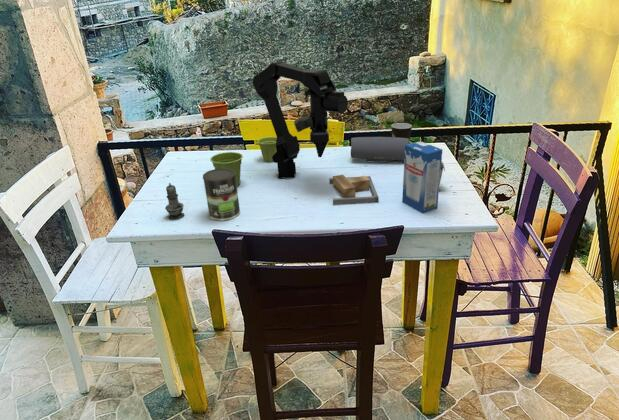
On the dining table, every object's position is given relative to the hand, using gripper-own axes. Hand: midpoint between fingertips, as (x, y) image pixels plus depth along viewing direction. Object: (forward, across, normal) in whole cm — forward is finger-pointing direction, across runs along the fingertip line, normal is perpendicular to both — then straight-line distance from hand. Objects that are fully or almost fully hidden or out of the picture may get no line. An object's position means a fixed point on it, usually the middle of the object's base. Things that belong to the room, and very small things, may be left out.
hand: (319, 152), depth 161 cm
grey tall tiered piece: (+13, +21, -48) cm, 54 cm away
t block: (+12, +6, +12) cm, 18 cm away
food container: (+12, +5, +38) cm, 40 cm away
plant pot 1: (+14, -3, -34) cm, 37 cm away
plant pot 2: (+14, -28, -21) cm, 38 cm away
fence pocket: (+12, +7, +11) cm, 18 cm away
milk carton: (+12, +20, +32) cm, 40 cm away
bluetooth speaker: (+13, -22, +24) cm, 35 cm away
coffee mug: (+13, -38, +36) cm, 54 cm away
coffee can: (+13, +20, -32) cm, 40 cm away
